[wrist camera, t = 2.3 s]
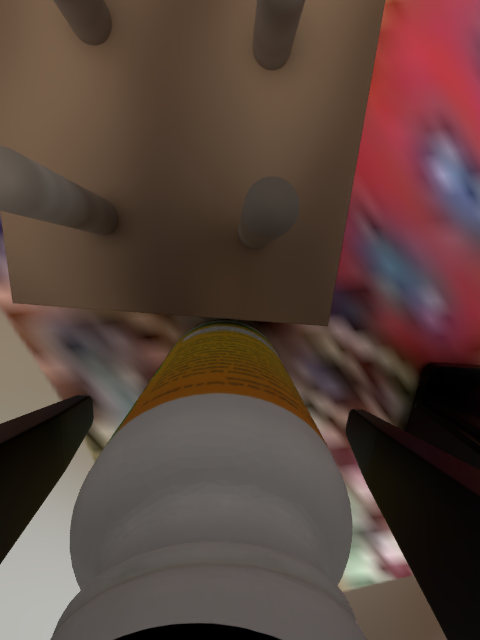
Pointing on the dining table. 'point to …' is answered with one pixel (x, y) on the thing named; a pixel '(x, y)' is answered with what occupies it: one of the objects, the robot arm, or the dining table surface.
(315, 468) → the supplement bottle
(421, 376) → the robot arm
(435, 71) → the dining table surface
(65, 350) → the dining table surface
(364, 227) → the dining table surface
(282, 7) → the peg cradle
